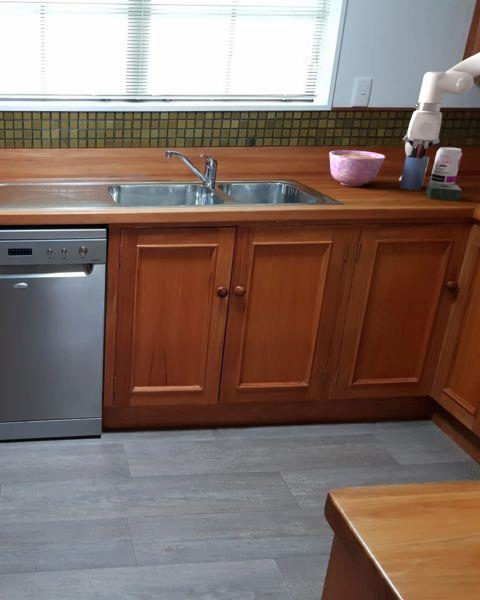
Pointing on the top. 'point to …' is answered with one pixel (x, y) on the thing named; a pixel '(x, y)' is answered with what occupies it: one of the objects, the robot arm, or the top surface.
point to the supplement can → (446, 165)
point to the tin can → (414, 173)
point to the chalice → (410, 148)
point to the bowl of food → (355, 166)
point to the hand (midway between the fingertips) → (416, 158)
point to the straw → (418, 150)
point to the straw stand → (443, 192)
